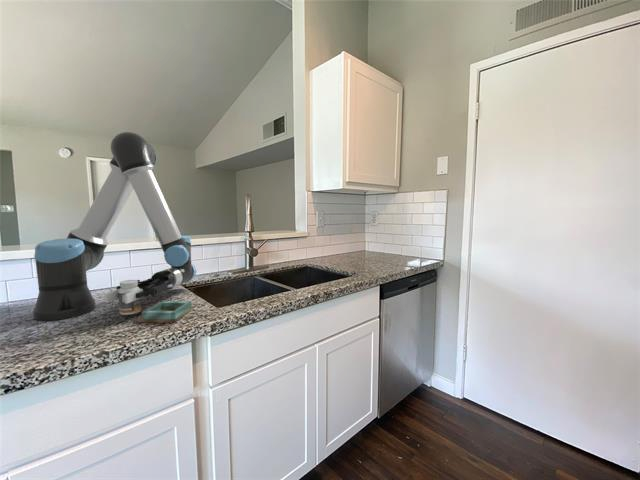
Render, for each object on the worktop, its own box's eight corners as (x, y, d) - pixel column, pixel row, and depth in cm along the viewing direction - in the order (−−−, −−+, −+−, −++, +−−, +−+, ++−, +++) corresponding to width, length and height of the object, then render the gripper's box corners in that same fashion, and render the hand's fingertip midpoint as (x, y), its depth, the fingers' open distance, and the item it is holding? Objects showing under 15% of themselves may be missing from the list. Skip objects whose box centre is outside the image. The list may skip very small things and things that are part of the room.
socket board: (135, 322, 85) (135, 312, 85) (155, 310, 95) (155, 301, 95) (175, 322, 85) (175, 312, 84) (191, 310, 95) (191, 301, 94)
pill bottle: (139, 314, 88) (137, 282, 87) (117, 316, 86) (115, 284, 85) (142, 308, 94) (141, 278, 93) (122, 310, 92) (120, 280, 90)
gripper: (190, 290, 106) (146, 312, 84) (143, 288, 108) (88, 309, 86) (189, 270, 106) (144, 287, 83) (142, 269, 108) (86, 284, 85)
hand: (116, 298), depth 84 cm, fingers closed on pill bottle, 6 cm apart
